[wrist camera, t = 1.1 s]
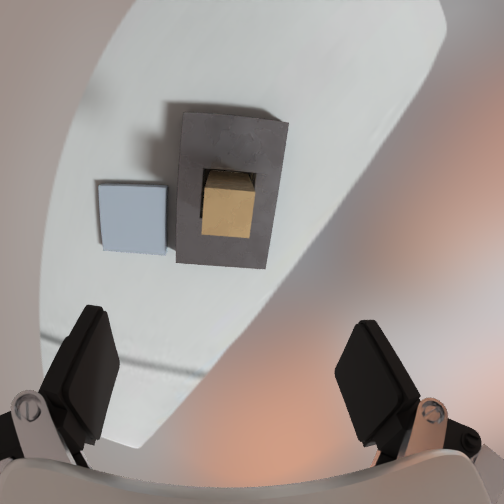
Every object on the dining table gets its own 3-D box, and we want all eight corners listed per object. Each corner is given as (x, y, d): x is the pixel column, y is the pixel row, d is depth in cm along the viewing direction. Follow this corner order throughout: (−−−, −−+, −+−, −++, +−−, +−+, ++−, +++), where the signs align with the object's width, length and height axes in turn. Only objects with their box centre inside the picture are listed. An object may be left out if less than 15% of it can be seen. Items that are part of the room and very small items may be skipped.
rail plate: (187, 112, 25) (183, 112, 23) (283, 122, 26) (288, 122, 24) (179, 252, 32) (175, 262, 30) (262, 258, 34) (265, 269, 31)
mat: (101, 183, 27) (98, 185, 26) (167, 185, 28) (165, 187, 28) (106, 246, 31) (103, 250, 30) (166, 251, 32) (165, 255, 31)
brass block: (210, 169, 28) (204, 187, 21) (247, 173, 29) (255, 192, 22) (207, 205, 30) (201, 234, 23) (243, 208, 30) (249, 238, 23)
